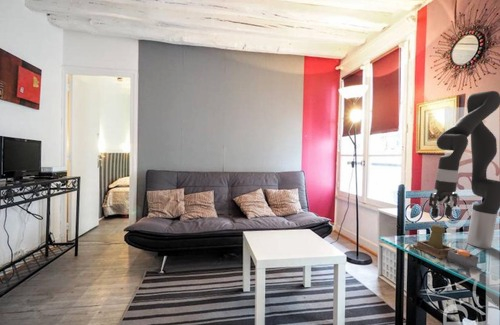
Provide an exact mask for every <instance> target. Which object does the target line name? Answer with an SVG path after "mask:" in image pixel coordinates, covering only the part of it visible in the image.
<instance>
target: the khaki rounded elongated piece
mask: <svg viewBox="0 0 500 325" xmlns="http://www.w3.org/2000/svg"><path fill="white" fill-rule="evenodd" d="M430 231H431V232H430V234H429V238H428V240H429V241H428V244H427V245H429V246H432V247H434V248H437V249H443V244H444V243H443V242H444V240H443V239H444V238H443V237H444V236H443V235H444V234H445V232H446V229H445V227H444V226H443V225H439V224H432V225H431V226H430Z"/></svg>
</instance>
